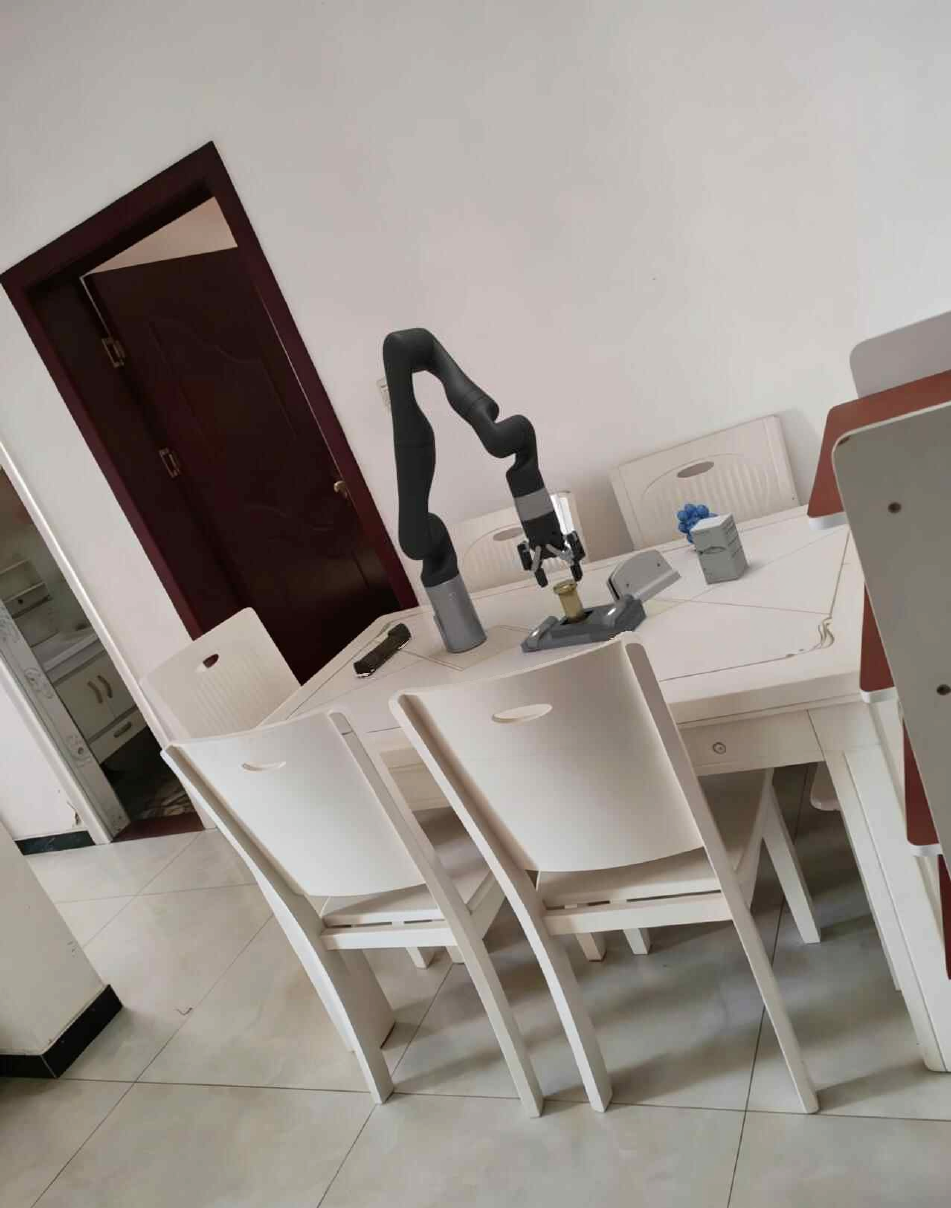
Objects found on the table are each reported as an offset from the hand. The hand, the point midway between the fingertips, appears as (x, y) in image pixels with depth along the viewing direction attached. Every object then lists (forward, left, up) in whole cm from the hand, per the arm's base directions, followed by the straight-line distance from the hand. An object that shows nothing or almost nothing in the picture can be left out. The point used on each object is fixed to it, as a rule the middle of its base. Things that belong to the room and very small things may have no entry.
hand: (561, 583), depth 199 cm
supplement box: (+26, +21, -13) cm, 36 cm away
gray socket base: (0, 0, -12) cm, 12 cm away
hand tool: (-62, +6, -13) cm, 64 cm away
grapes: (+14, +41, -13) cm, 46 cm away
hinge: (+7, +20, -13) cm, 25 cm away
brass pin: (0, 0, -12) cm, 12 cm away
